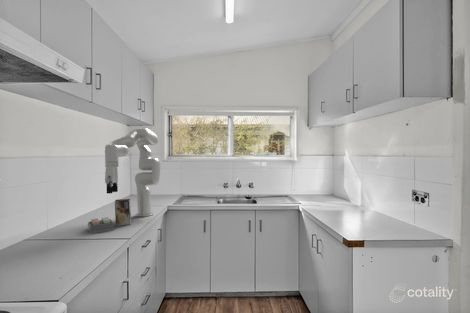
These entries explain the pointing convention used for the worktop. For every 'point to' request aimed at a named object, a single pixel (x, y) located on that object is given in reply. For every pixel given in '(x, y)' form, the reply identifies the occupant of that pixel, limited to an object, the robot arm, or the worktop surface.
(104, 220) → the key sage
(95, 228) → the keyguard
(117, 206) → the coffee box
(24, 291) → the worktop surface
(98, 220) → the key terracotta
